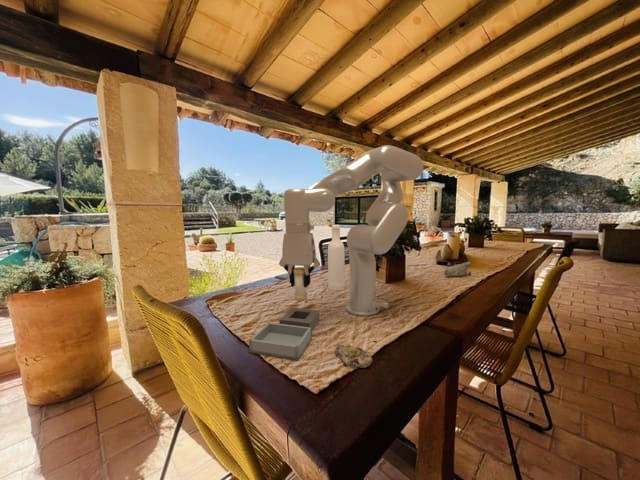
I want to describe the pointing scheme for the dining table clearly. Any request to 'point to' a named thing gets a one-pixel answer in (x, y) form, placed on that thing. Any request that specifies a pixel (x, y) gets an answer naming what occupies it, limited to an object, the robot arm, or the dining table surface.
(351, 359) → the mineral rock
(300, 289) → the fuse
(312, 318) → the fuse holder
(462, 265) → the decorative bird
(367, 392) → the dining table surface
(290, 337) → the tray
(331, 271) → the bottle
